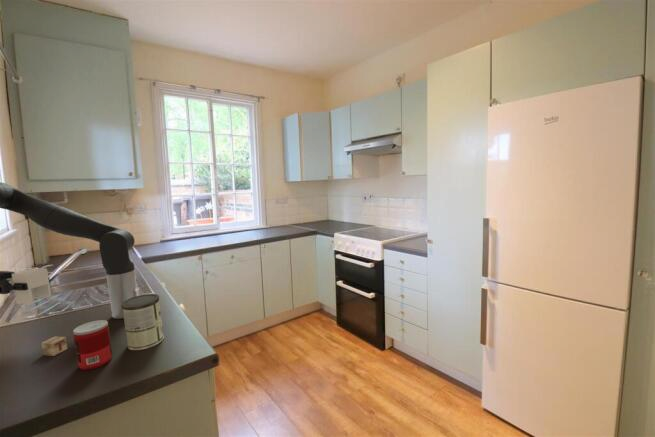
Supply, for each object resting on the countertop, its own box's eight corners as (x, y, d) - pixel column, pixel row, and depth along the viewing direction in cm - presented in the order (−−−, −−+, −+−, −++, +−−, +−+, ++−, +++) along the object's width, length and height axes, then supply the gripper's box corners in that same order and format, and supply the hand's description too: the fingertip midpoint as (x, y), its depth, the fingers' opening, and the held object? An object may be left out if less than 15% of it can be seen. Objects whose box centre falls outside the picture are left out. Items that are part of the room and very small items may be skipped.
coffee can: (123, 342, 100) (117, 300, 99) (158, 331, 107) (153, 291, 106) (131, 354, 93) (125, 309, 91) (168, 341, 100) (163, 298, 98)
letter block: (43, 355, 95) (41, 342, 95) (57, 348, 99) (55, 336, 99) (54, 356, 94) (52, 343, 94) (67, 349, 98) (65, 337, 98)
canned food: (119, 356, 92) (114, 321, 91) (91, 372, 85) (85, 334, 83) (100, 353, 95) (95, 318, 93) (72, 368, 87) (66, 331, 86)
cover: (16, 304, 100) (11, 273, 99) (37, 297, 106) (32, 268, 105) (32, 304, 99) (26, 274, 98) (51, 297, 105) (47, 268, 104)
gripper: (-34, 278, 97) (10, 279, 94) (19, 265, 111) (58, 265, 108) (-29, 301, 98) (14, 303, 95) (22, 285, 112) (61, 286, 109)
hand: (37, 283), depth 101 cm, fingers closed on cover, 6 cm apart
